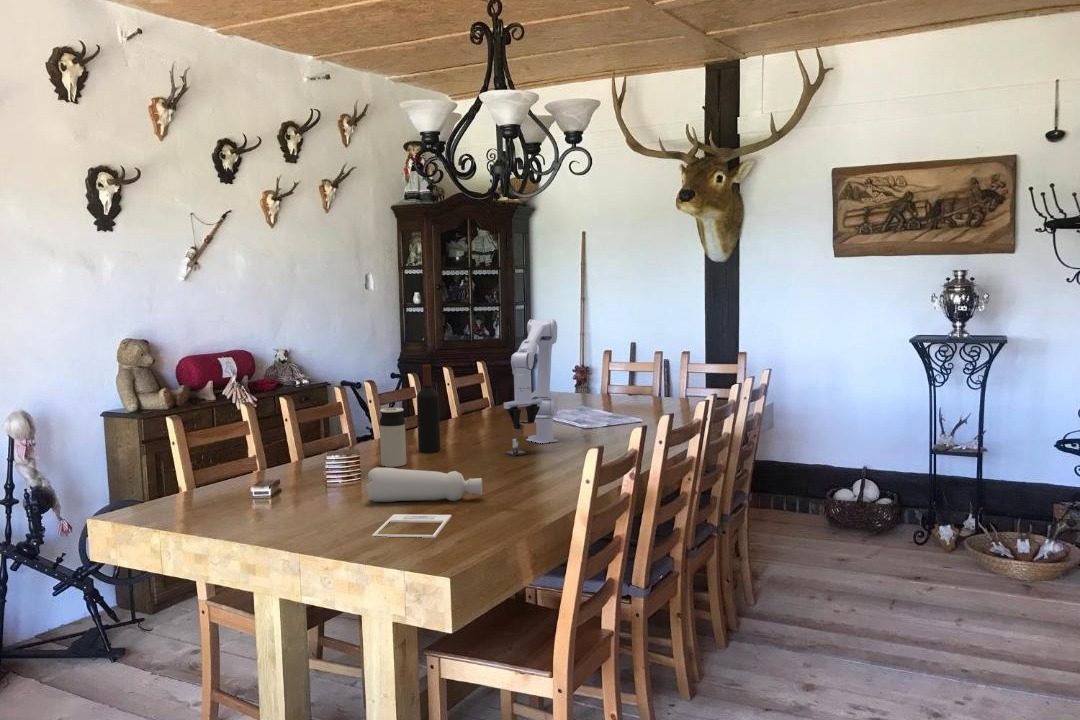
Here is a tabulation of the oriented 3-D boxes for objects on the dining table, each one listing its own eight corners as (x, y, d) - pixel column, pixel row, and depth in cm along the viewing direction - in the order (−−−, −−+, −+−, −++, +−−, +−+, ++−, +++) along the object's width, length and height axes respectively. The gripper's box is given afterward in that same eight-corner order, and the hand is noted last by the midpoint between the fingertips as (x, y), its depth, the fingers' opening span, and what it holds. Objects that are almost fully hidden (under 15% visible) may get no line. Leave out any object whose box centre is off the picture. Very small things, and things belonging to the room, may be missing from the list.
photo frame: (451, 514, 216) (434, 534, 198) (451, 518, 216) (435, 539, 198) (393, 513, 218) (372, 534, 200) (393, 518, 218) (372, 539, 200)
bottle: (363, 494, 227) (479, 497, 226) (368, 462, 232) (481, 464, 231) (370, 506, 235) (481, 508, 234) (374, 474, 240) (483, 476, 239)
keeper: (505, 454, 294) (504, 438, 294) (517, 452, 297) (517, 437, 297) (513, 456, 290) (513, 440, 290) (526, 454, 293) (525, 439, 293)
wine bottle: (414, 452, 301) (411, 365, 298) (425, 448, 308) (422, 363, 305) (433, 453, 298) (430, 366, 295) (444, 449, 305) (441, 363, 302)
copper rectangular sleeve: (511, 434, 296) (511, 422, 296) (524, 432, 299) (524, 420, 299) (523, 436, 291) (523, 424, 290) (536, 434, 294) (536, 422, 293)
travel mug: (381, 468, 276) (379, 411, 275) (380, 463, 284) (378, 408, 282) (407, 466, 278) (405, 410, 276) (405, 461, 285) (403, 407, 284)
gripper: (511, 390, 286) (512, 431, 287) (547, 387, 295) (548, 426, 296) (499, 388, 292) (500, 429, 293) (535, 385, 300) (535, 424, 302)
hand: (523, 428), depth 295 cm, fingers closed on copper rectangular sleeve, 5 cm apart
